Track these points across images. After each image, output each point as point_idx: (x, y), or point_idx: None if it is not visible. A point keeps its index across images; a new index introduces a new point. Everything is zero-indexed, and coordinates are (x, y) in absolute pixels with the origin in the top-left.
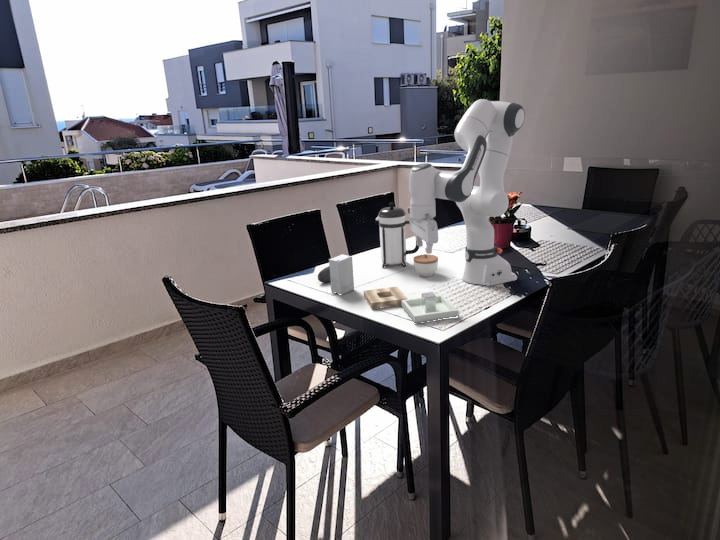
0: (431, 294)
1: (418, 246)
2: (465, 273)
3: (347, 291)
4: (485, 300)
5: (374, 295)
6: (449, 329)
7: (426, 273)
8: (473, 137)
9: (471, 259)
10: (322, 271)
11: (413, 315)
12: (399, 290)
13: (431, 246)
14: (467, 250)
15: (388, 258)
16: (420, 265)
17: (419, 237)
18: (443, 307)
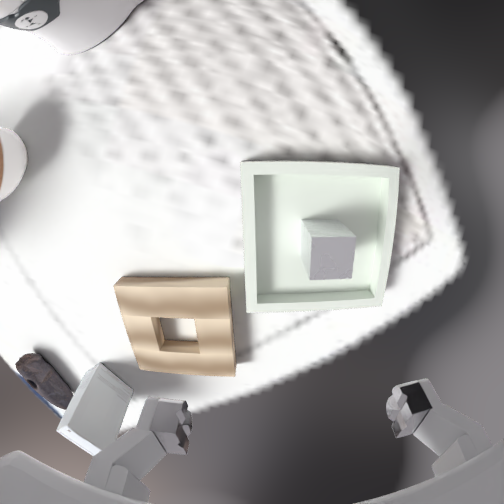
0: (336, 248)
1: (189, 421)
2: (71, 40)
3: (117, 379)
4: (274, 24)
5: (178, 359)
6: (432, 220)
7: (23, 164)
8: None
9: (59, 5)
10: (61, 407)
11: (373, 306)
12: (148, 290)
13: (459, 420)
14: (21, 12)
15: None
16: (4, 188)
17: (130, 464)
18: (316, 183)
